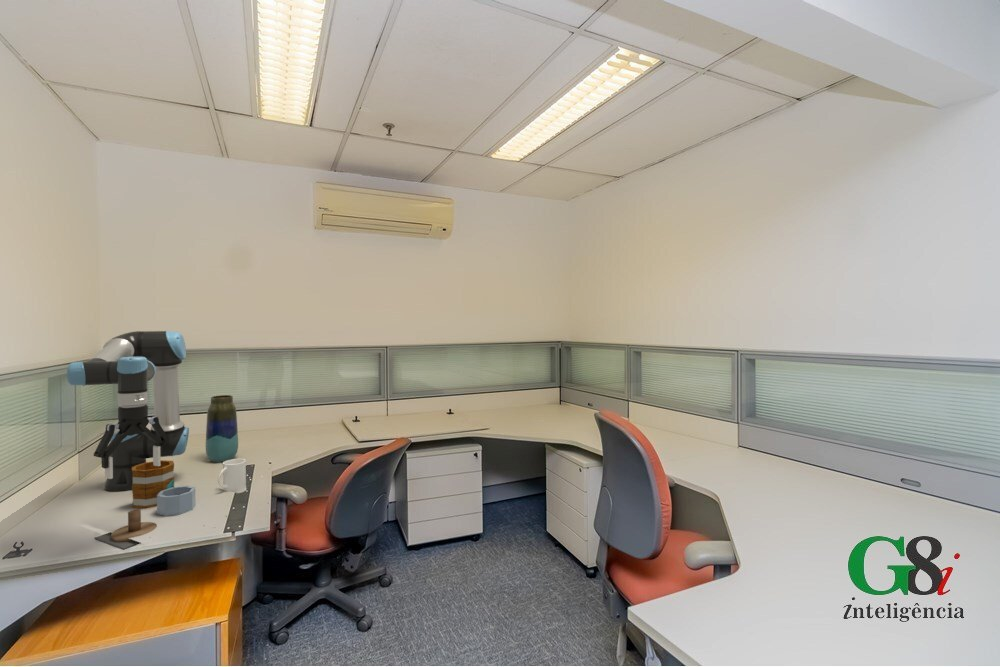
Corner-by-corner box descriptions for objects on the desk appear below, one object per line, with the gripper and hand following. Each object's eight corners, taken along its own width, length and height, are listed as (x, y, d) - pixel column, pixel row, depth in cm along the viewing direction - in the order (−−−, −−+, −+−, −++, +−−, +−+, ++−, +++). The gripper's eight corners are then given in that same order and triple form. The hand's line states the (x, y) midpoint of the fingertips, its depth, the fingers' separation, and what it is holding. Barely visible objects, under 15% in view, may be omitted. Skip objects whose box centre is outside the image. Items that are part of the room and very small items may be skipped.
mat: (94, 538, 148) (94, 537, 148) (143, 521, 160) (143, 520, 160) (123, 549, 141) (123, 548, 141) (172, 530, 154) (172, 529, 154)
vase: (203, 465, 222) (202, 399, 221) (208, 457, 235) (207, 395, 234) (236, 462, 228) (236, 397, 227) (239, 454, 240) (239, 393, 239)
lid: (103, 537, 148) (102, 514, 148) (143, 523, 158) (143, 501, 158) (124, 545, 143) (124, 521, 143) (164, 530, 154) (164, 508, 153)
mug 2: (225, 499, 181) (224, 468, 181) (209, 495, 184) (209, 465, 184) (251, 489, 192) (251, 459, 192) (236, 486, 195) (236, 457, 195)
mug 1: (167, 510, 170) (167, 469, 169) (123, 514, 166) (122, 472, 165) (186, 491, 188) (186, 454, 188) (147, 494, 185) (146, 457, 184)
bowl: (151, 516, 165) (151, 493, 165) (182, 505, 174) (182, 484, 174) (170, 522, 160) (170, 498, 160) (201, 510, 170) (200, 488, 170)
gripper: (92, 413, 137) (93, 485, 137) (180, 400, 159) (181, 462, 160) (78, 411, 140) (79, 481, 140) (167, 398, 162) (167, 459, 163)
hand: (133, 471), depth 150 cm, fingers open, 13 cm apart
